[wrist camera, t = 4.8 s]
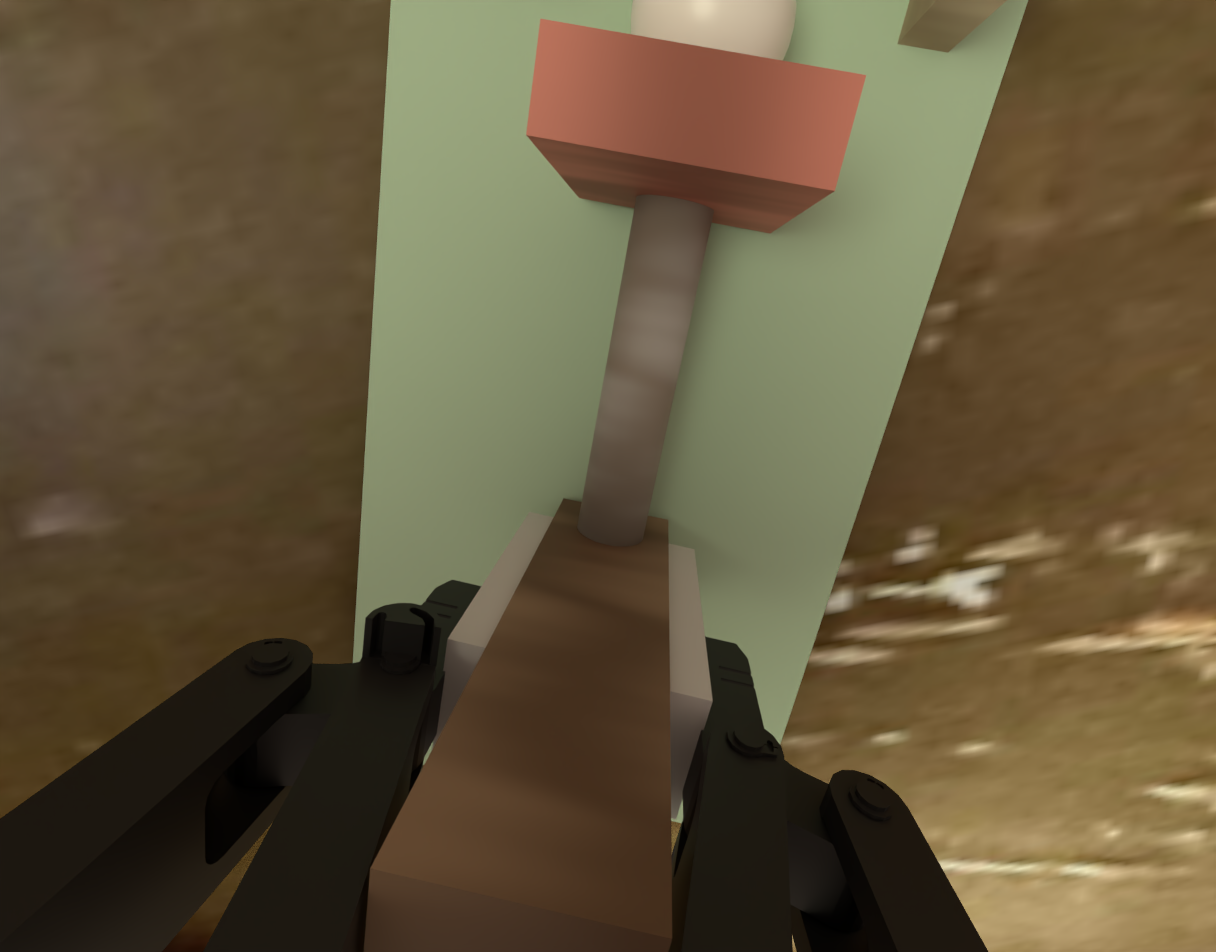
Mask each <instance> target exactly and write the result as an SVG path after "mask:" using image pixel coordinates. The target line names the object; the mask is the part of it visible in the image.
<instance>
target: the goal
mask: <svg viewBox="0 0 1216 952" xmlns="http://www.w3.org/2000/svg"><path fill="white" fill-rule="evenodd" d="M1006 1H1007V0H910V1H909V4H908V8H907V11H906V15H905V19H904V22H903V26H902V29H901V33H900V36H899V40H898V43H897V44H900V45H906V46H912V47H918V48H924V49H930V50H935V51H941V52H947V53H948V52H949V51H950V50H951V49H953V48H954V47H955V46H956V45H957V44H958V43H959V42H961V41H962V40H963V39H964V38H965V37H966V36H967V35H968V34H970V33H971V32H972V31H973V30H974V29H975V28H976V27H977V26H979V25H980V24H981V23H982V22H983V21H984V20H985V19H987V18H988V17H989V16H990V15H991V14H992V13H993V12H994V11H996V10H997V9H998V8H999V7H1000V6H1001V5H1002V4H1003V3H1005V2H1006Z"/></svg>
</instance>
